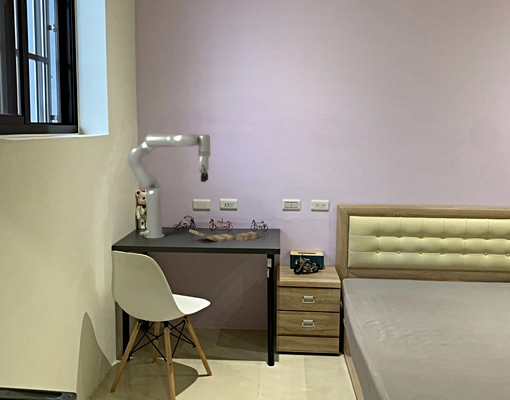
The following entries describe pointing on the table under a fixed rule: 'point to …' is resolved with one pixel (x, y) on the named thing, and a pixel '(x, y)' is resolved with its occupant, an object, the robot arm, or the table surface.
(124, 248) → the table surface
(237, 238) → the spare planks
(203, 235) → the plank
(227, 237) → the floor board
